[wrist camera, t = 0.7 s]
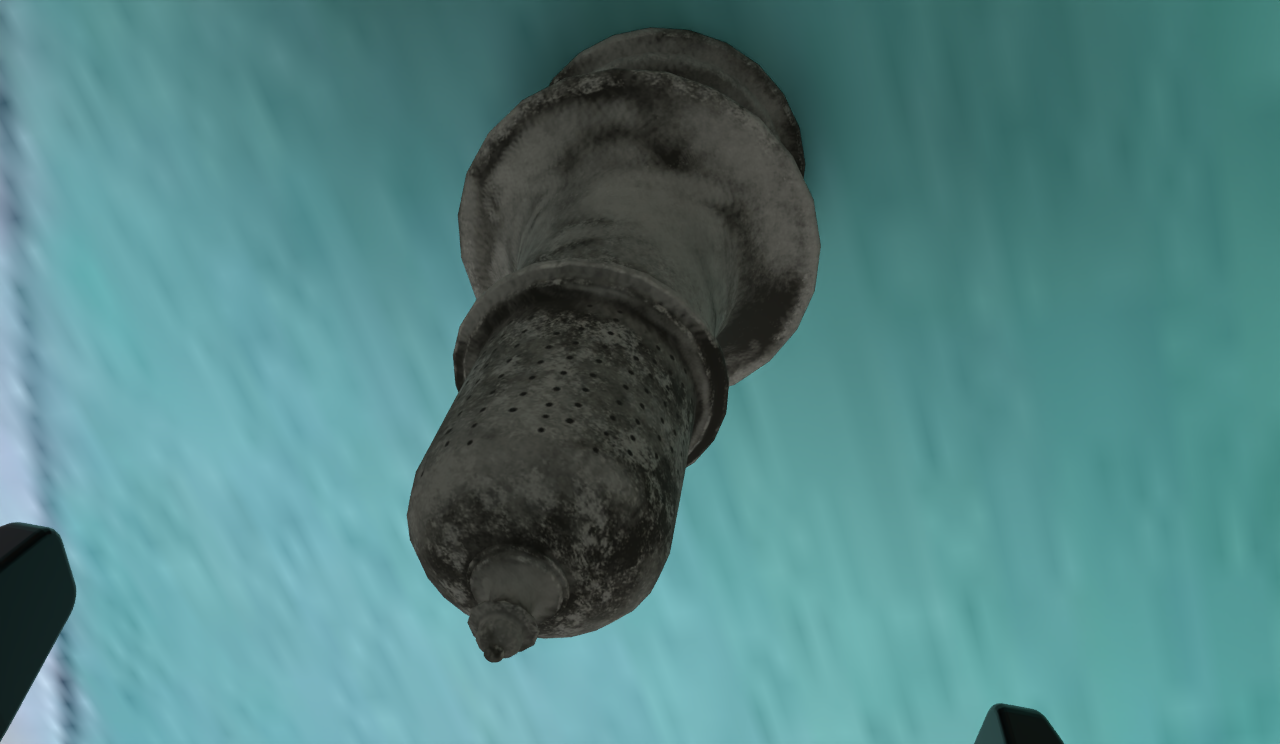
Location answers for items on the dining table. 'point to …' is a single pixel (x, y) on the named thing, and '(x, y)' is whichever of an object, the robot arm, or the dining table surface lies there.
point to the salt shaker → (607, 326)
